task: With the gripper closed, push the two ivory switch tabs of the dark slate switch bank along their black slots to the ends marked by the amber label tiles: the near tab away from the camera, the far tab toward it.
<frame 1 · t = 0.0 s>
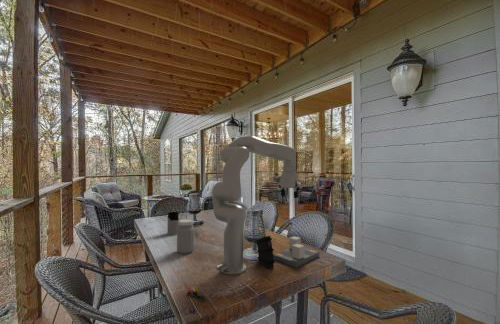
hand: (289, 197, 153), 31 cm above the table, fingers open, 9 cm apart
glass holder: (176, 233, 183), on the table
composite cable: (195, 298, 96), on the table
tab 2: (295, 243, 144), point 6 cm above the table, slide at 0.0 cm
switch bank: (296, 257, 137), on the table
jar: (185, 251, 145), on the table
tab 1: (298, 251, 130), point 6 cm above the table, slide at 0.0 cm
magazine: (264, 264, 128), on the table
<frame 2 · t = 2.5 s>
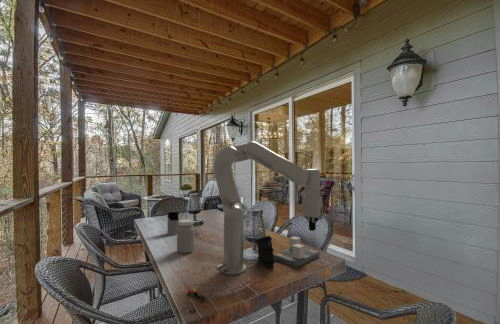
hand: (312, 230, 125), 19 cm above the table, fingers closed
nothing on the table moved.
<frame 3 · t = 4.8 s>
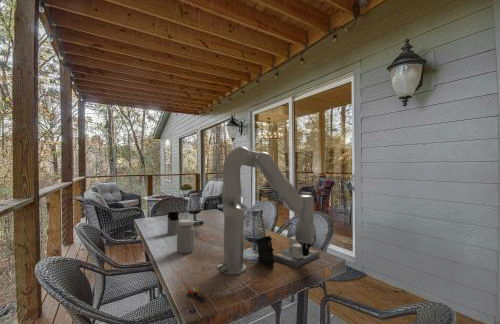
hand: (305, 255, 127), 5 cm above the table, fingers closed
tab 1: (297, 251, 130), point 6 cm above the table, slide at 0.2 cm, touching gripper
everything else where it was.
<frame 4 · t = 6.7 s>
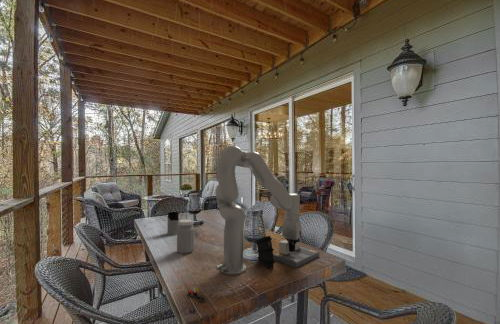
hand: (292, 250, 133), 5 cm above the table, fingers closed
tab 1: (284, 247, 136), point 6 cm above the table, slide at 8.7 cm, touching gripper
everything else where it was.
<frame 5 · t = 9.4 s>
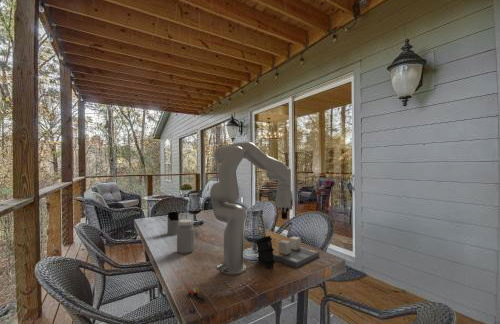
hand: (284, 218, 149), 19 cm above the table, fingers closed
tab 1: (284, 247, 136), point 6 cm above the table, slide at 8.8 cm
everything else where it was.
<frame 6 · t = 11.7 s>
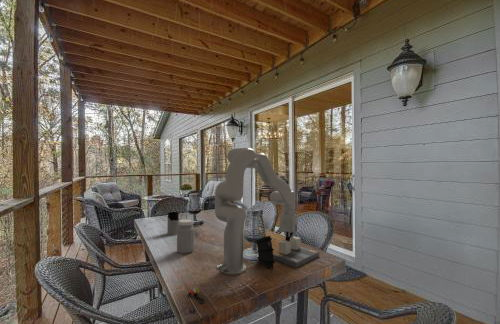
hand: (288, 242, 147), 5 cm above the table, fingers closed
tab 2: (295, 243, 144), point 6 cm above the table, slide at 0.1 cm, touching gripper
everything else where it was.
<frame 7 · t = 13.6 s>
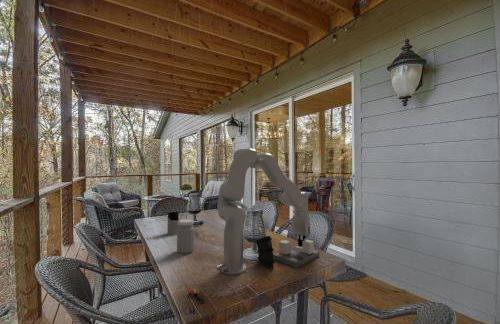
hand: (300, 246, 141), 5 cm above the table, fingers closed
tab 2: (308, 246, 137), point 6 cm above the table, slide at 8.7 cm, touching gripper
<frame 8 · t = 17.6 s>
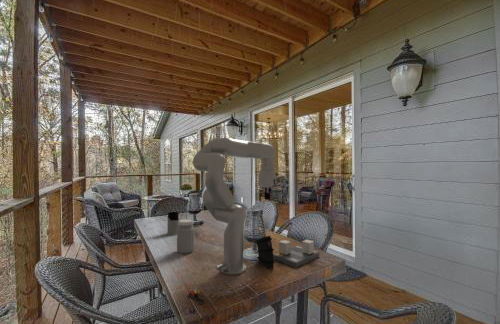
hand: (267, 199, 143), 31 cm above the table, fingers closed
tab 2: (308, 246, 137), point 6 cm above the table, slide at 8.8 cm
at the end: tab 1 slide at 8.8 cm; tab 2 slide at 8.8 cm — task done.
